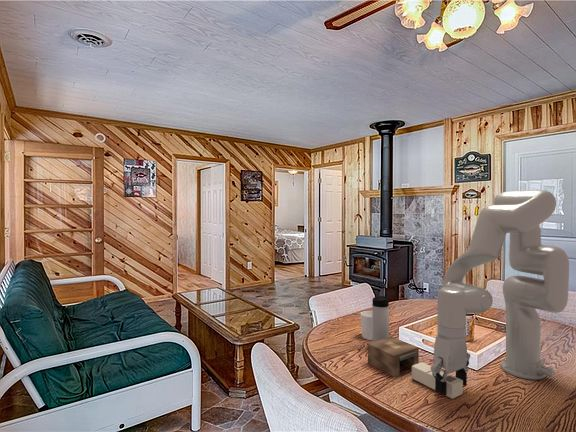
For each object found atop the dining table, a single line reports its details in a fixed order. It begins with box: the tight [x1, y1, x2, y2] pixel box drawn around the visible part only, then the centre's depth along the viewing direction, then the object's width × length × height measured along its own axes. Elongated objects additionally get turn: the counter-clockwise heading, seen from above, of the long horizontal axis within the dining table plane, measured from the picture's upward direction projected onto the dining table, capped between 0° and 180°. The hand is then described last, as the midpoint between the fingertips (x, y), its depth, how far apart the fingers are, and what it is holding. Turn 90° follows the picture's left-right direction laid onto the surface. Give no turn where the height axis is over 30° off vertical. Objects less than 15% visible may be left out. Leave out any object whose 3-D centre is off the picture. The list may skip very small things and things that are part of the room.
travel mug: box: [371, 295, 391, 342], centre depth 135 cm, size 6×7×20 cm
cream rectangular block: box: [411, 362, 464, 399], centre depth 106 cm, size 14×5×4 cm, turn 31°
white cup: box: [360, 310, 372, 341], centre depth 146 cm, size 8×8×10 cm
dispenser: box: [367, 335, 420, 378], centre depth 120 cm, size 13×12×7 cm
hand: (451, 388), depth 101 cm, fingers open, 9 cm apart
